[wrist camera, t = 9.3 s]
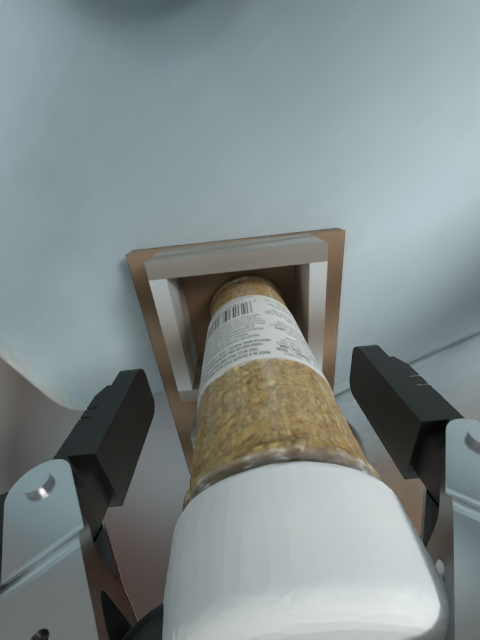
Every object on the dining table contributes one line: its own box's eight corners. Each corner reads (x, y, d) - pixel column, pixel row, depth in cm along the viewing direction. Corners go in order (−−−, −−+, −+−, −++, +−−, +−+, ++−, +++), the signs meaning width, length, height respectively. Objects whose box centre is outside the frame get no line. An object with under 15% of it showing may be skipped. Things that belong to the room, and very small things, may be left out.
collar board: (132, 249, 15) (100, 267, 11) (337, 226, 15) (373, 237, 11) (191, 461, 23) (184, 513, 20) (323, 448, 23) (341, 497, 20)
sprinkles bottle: (227, 349, 17) (224, 737, 5) (198, 288, 15) (72, 677, 3) (294, 326, 16) (479, 700, 4) (272, 259, 14) (500, 597, 2)
